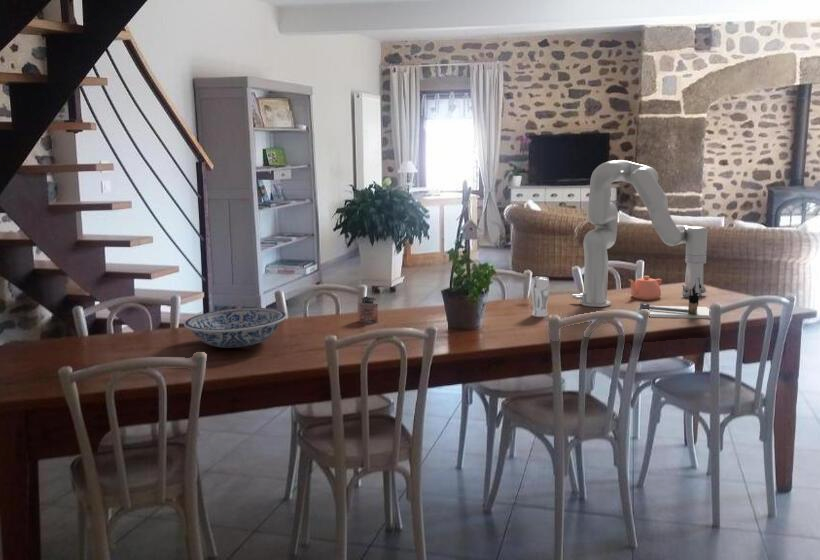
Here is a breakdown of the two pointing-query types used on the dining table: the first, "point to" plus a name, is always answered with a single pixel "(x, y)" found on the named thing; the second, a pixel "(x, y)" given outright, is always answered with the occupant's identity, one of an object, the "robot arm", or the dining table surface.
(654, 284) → the teapot
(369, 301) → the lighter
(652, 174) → the robot arm
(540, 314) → the beer glass
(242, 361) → the dining table surface
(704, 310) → the tuner dial board
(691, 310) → the tuning lever
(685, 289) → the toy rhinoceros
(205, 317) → the ceramic bowl
